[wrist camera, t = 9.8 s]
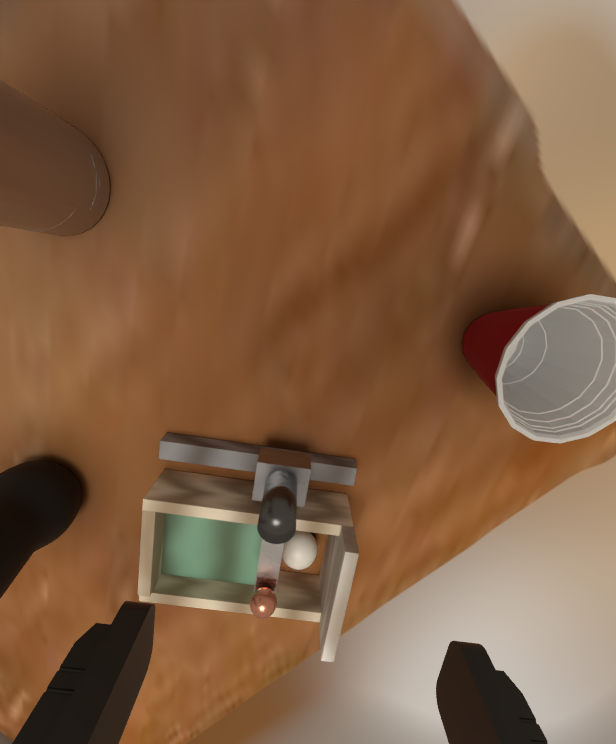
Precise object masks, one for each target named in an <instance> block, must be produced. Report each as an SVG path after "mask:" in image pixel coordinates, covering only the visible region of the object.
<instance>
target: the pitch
mask: <svg viewBox="0 0 616 744" xmlns="http://www.w3.org/2000/svg"><path fill="white" fill-rule="evenodd" d="M261 447H263V448H270V449H277V450H284V451H291V452H298V453H305V454H311V473H310V479H309V480H315V481H323V482H330V483H337V484H344V485H351V486H353V485H354V481H355V476H356V472H357V466H356V463H355V459H350V458H343V457H336V456H329V455H322V454H315V453H308V452H301V451H294V450H287V449H280V448H273V447H266V446H259V445H252V444H245V443H238V442H231V441H224V440H217V439H210V438H203V437H196V436H189V435H182V434H175V433H168V432H167V433H166V435H165V436H164V437H163V438H162V439H161V440H160V450H159V459H164V460H171V461H178V462H186V463H193V464H200V465H207V466H215V467H222V468H229V469H236V470H243V471H251V472H256V468H257V461H258V457H259V453H260V449H261ZM254 482H255V481H249V480H241V479H234V478H227V477H220V476H212V475H205V474H198V473H191V472H183V471H176V470H169V469H164V471H163V472H162V473H161V475H160V476H159V478H158V479H157V480H156V482H155V483H154V485H153V486H152V487H151V489H150V490H149V492H148V493H147V494H146V496H145V497H144V499H143V511H142V529H141V546H140V564H139V582H138V596H140V598H139V601H145V602H153V603H162V604H170V605H178V606H187V607H195V608H204V609H212V610H221V611H229V612H238V613H246V614H253V613H252V611H251V608H250V599H251V596H252V594H253V593H254V588H255V581H256V575H257V568H258V562H259V555H260V549H261V542H262V538H261V537H260V535H259V533H258V530H257V525H258V519H259V514H260V509H261V503H262V501H255V500H252V496H253V489H254ZM296 530H298V531H305V532H313V533H321V534H328V536H327V541H326V545H325V550H324V555H323V560H322V565H321V570H320V575H311V574H303V573H295V572H287V571H280V570H279V576H278V582H277V587H276V593H275V595H276V598H277V606H276V609H275V611H274V613H273V614H272V615H271V617H280V618H288V619H297V620H305V621H314V622H319V625H320V647H321V661H329V662H334V658H335V654H336V649H337V645H338V641H339V637H340V632H341V628H342V624H343V620H344V615H345V611H346V607H347V603H348V598H349V594H350V590H351V585H352V581H353V577H354V573H355V568H356V564H357V560H358V556H359V551H358V546H357V541H356V536H355V531H354V526H353V521H352V516H351V511H350V506H349V501H348V496H347V494H343V493H336V492H329V491H321V490H314V489H308V490H307V495H306V501H305V506H304V507H300V506H297V513H296Z"/></svg>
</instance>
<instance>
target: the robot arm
mask: <svg viewBox="0 0 616 744" xmlns="http://www.w3.org/2000/svg"><path fill="white" fill-rule="evenodd" d="M109 192H110V184H109V175H108V172H107V168H106V165H105V162H104V160H103V158H102V156H101V154H100V152H99V151H98V150H97V148H96V147H95V145H94V144H93V143H92V142H91V141H90V140H89V139H88V138H87V137H86V136H85V135H84V134H83V133H82V132H80V131H79V130H77V129H76V128H74V127H73V126H71V125H69V124H68V123H66V122H65V121H63V120H62V119H60V118H59V117H57V116H56V115H54V114H53V113H51V112H50V111H48V110H47V109H46V108H44V107H42V106H41V105H39V104H38V103H36V102H35V101H33V100H32V99H30V98H29V97H27V96H25V95H24V94H22V93H21V92H19V91H18V90H16V89H15V88H13V87H12V86H10V85H8V84H7V83H5V82H4V81H2V80H1V79H0V226H6V227H12V228H18V229H23V230H29V231H35V232H42V233H48V234H54V235H61V236H67V235H75V234H79V233H82V232H84V231H86V230H88V229H90V228H91V227H92V226H94V225H95V224H96V223H97V222H98V221H99V220H100V218H101V216H102V215H103V213H104V212H105V209H106V206H107V204H108V200H109ZM154 620H155V605H154V604H148V603H139V602H131V601H125V602H124V603H123V605H122V606H121V608H120V609H119V611H118V613H117V615H116V617H115V618H114V620H113V622H112V624H111V625H109V624H100V623H96V624H95V625H94V626H93V627H91V628H90V629H89V630H88V631H87V632H86V633H85V634H84V635H83V636H82V637H80V638H79V639H78V640H77V641H76V642H75V644H74V645H73V647H72V648H71V650H70V652H69V653H68V655H67V656H66V658H65V660H64V661H63V663H62V664H61V666H60V669H59V671H57V672H56V674H55V676H54V677H53V679H52V681H51V682H50V684H49V685H48V687H47V690H46V692H44V693H43V695H42V697H41V698H40V700H39V701H38V703H37V705H36V706H35V708H34V709H33V711H32V713H31V714H30V716H29V718H28V719H27V721H26V722H25V724H24V726H23V727H22V729H21V730H20V732H19V734H18V735H17V737H16V738H15V740H14V742H13V743H12V744H119V741H120V739H121V736H122V734H123V731H124V729H125V726H126V724H127V721H128V719H129V716H130V714H131V711H132V709H133V706H134V703H135V701H136V698H137V696H138V693H139V691H140V688H141V686H142V683H143V681H144V678H145V675H146V672H147V669H148V666H149V662H150V658H151V654H152V647H153V634H154ZM436 695H437V696H436V697H437V704H438V709H439V712H440V716H441V719H442V722H443V726H444V729H445V732H446V735H447V738H448V742H449V744H547V740H546V738H545V736H544V734H543V732H542V730H541V729H540V726H539V725H538V724H537V723H536V719H535V717H534V715H533V713H532V711H531V709H530V707H529V705H528V703H527V701H526V699H525V698H524V696H523V694H522V693H521V691H520V690H519V689H518V688H517V687H516V686H515V684H514V683H513V682H512V681H511V680H510V678H509V677H508V676H507V675H506V673H505V672H504V671H498V670H495V668H494V666H493V664H492V662H491V660H490V658H489V656H488V654H487V652H486V650H485V648H484V647H483V646H482V645H480V644H476V643H467V642H459V641H452V642H450V644H449V647H448V650H447V653H446V656H445V659H444V662H443V665H442V668H441V671H440V674H439V677H438V680H437V685H436Z"/></svg>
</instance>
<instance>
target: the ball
mask: <svg viewBox="0 0 616 744" xmlns="http://www.w3.org/2000/svg"><path fill="white" fill-rule="evenodd" d="M316 555H317V543H316V540H315V538H314V537H313V535H312V534H311V533H310V532H305V531H298V530H296V532H295V534H294V536H293V537H292V538H291V539H290V540H289V541H287V542H285V543H284V547H283V553H282V558H283V560H284V562H285V563H286V564H287V565H288V566H289V567H291V568H293V569H297V570H300V569H305V568H307V567H309V566H310V565H311V564H312V563H313V562H314V560H315V558H316Z"/></svg>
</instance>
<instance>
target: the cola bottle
mask: <svg viewBox="0 0 616 744" xmlns="http://www.w3.org/2000/svg"><path fill="white" fill-rule="evenodd" d="M81 500H82V493H81V488H80V485H79V483H78V481H77V479H76V478H75V476H74V475H73V474H72V473H71V472H70V471H69V470H67V469H66V468H64V467H63V466H61V465H59V464H56V463H53V462H49V461H31V462H26V463H23V464H20V465H17V466H14V467H12V468H10V469H8V470H6V471H4V472H2V473H0V598H1V597H2V596H3V594H4V593H5V591H6V590H7V589H8V587H9V586H10V584H11V583H12V582H13V580H14V579H15V577H16V576H17V575H18V573H19V572H20V570H21V569H22V568H23V566H24V565H25V563H26V562H27V561H28V559H29V558H30V556H31V555H32V554H33V552H34V551H36V550H38V549H40V548H42V547H44V546H46V545H48V544H49V543H51V542H53V541H54V540H55V539H57V538H58V537H59V536H61V535H62V534H63V533H64V532H65V531H66V530H67V528H68V527H69V526H70V525H71V523H72V522H73V520H74V518H75V517H76V515H77V513H78V510H79V508H80V505H81Z"/></svg>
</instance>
